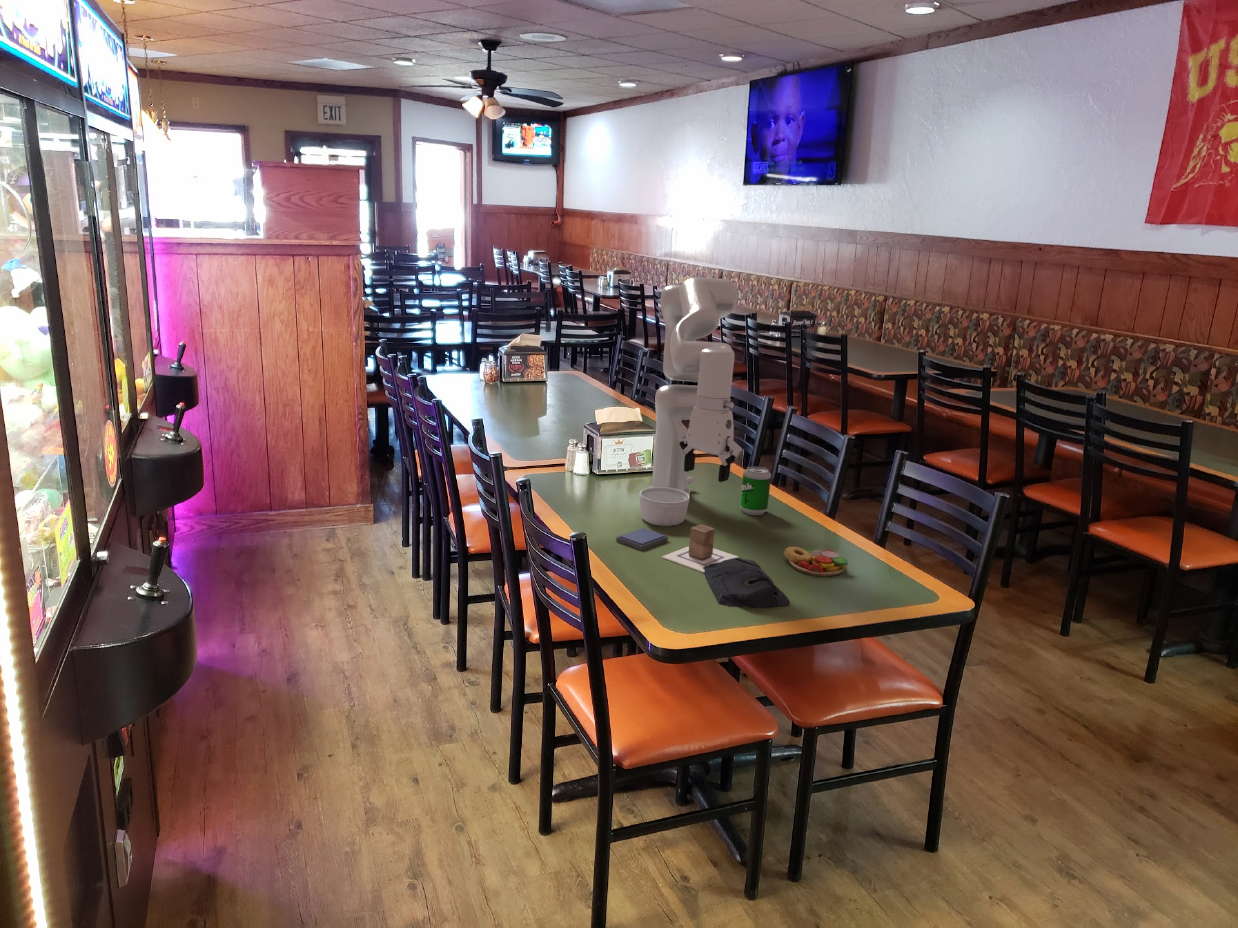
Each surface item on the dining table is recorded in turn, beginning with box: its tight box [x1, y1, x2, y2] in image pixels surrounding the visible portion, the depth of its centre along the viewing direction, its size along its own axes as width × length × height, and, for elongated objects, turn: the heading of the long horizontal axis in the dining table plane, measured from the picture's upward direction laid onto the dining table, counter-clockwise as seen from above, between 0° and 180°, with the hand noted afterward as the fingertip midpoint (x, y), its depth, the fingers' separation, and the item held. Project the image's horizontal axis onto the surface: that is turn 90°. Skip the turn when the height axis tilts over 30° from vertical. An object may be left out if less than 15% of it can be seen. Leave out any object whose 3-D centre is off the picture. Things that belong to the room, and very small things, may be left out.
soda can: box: [739, 466, 772, 516], centre depth 242 cm, size 8×8×12 cm
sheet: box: [661, 545, 740, 574], centre depth 207 cm, size 14×12×1 cm
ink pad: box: [615, 527, 669, 551], centre depth 215 cm, size 10×8×1 cm
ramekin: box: [638, 487, 691, 527], centre depth 231 cm, size 13×13×7 cm
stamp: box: [688, 523, 716, 561], centre depth 206 cm, size 4×4×7 cm
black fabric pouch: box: [702, 557, 790, 609], centre depth 191 cm, size 15×22×5 cm
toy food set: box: [783, 546, 849, 577], centre depth 206 cm, size 13×13×3 cm
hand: (705, 475), depth 204 cm, fingers open, 9 cm apart
